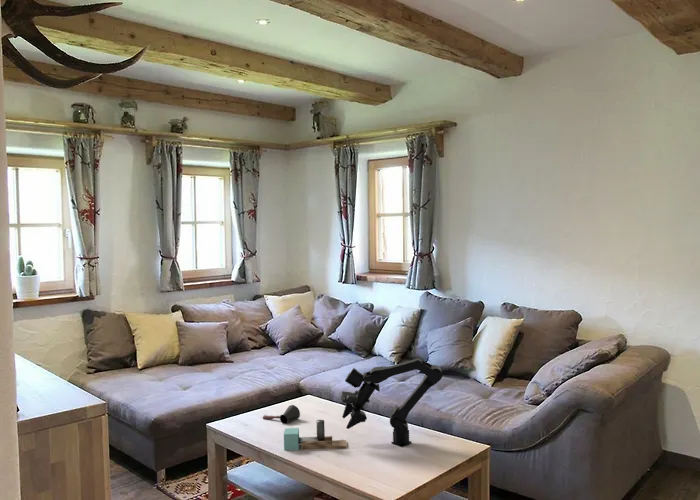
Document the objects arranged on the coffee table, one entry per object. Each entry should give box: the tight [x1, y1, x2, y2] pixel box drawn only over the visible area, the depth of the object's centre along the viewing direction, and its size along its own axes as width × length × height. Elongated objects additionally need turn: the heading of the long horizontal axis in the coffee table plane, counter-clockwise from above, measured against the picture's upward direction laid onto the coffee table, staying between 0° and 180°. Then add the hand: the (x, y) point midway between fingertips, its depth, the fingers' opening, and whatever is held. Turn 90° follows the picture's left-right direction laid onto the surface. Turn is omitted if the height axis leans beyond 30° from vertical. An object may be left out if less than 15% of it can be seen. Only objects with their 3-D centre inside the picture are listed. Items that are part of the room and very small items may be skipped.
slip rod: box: [298, 419, 326, 445], centre depth 249 cm, size 15×3×10 cm, turn 91°
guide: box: [301, 435, 347, 451], centre depth 250 cm, size 19×7×3 cm, turn 91°
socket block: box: [283, 427, 300, 451], centre depth 249 cm, size 6×7×7 cm
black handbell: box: [262, 404, 301, 425], centre depth 285 cm, size 8×18×8 cm
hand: (345, 422), depth 252 cm, fingers open, 9 cm apart
